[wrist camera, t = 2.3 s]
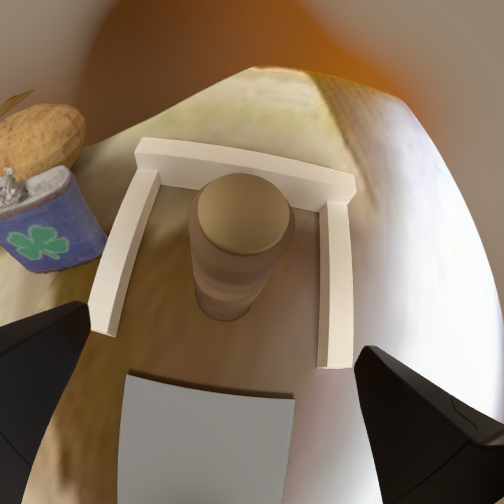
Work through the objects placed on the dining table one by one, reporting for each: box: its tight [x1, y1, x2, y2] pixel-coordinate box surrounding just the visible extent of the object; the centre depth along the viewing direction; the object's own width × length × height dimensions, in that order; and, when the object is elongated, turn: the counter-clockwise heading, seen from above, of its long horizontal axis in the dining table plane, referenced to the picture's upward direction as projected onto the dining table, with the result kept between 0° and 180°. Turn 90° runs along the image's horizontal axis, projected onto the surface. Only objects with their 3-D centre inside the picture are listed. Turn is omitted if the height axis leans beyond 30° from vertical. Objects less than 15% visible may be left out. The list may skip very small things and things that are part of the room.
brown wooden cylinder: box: [188, 173, 295, 321], centre depth 15 cm, size 4×4×11 cm
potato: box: [0, 103, 86, 183], centre depth 19 cm, size 10×14×8 cm
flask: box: [0, 165, 108, 274], centre depth 14 cm, size 9×3×11 cm, turn 105°
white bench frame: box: [88, 137, 356, 369], centre depth 20 cm, size 16×19×4 cm
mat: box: [117, 375, 295, 504], centre depth 14 cm, size 12×12×1 cm
